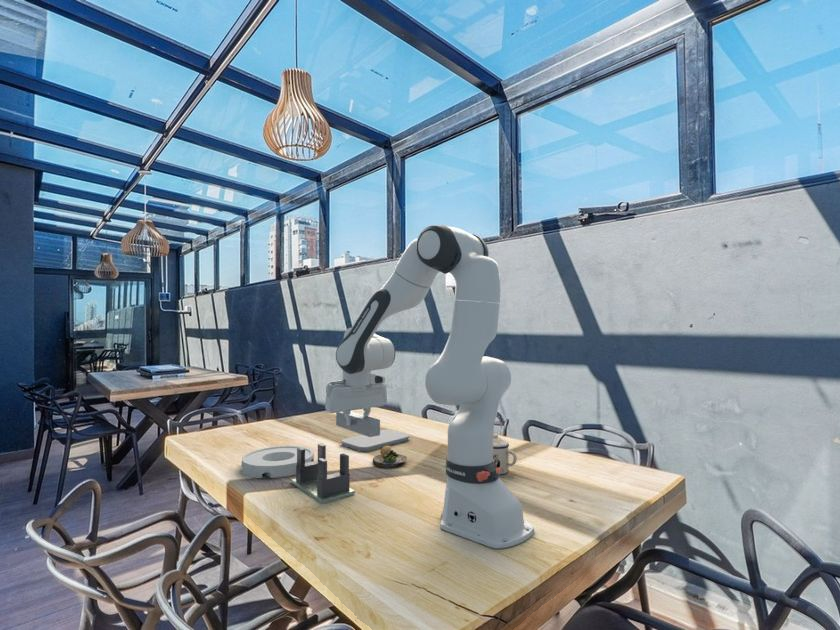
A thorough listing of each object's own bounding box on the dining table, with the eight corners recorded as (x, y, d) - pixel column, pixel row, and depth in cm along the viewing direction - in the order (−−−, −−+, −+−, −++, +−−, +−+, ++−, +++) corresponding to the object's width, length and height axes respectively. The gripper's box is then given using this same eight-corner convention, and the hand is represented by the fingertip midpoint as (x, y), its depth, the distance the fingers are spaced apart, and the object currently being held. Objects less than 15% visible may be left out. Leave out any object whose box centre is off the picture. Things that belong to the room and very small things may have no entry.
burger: (402, 470, 140) (402, 447, 140) (367, 467, 142) (368, 445, 143) (410, 459, 152) (410, 438, 152) (378, 457, 154) (378, 436, 154)
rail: (380, 435, 125) (380, 419, 125) (369, 437, 122) (369, 421, 123) (345, 423, 140) (345, 410, 140) (336, 425, 138) (336, 411, 138)
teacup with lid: (475, 471, 138) (475, 434, 138) (489, 464, 145) (489, 429, 146) (510, 479, 131) (509, 440, 131) (522, 471, 138) (522, 435, 138)
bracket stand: (354, 494, 119) (354, 456, 119) (321, 503, 112) (322, 463, 113) (321, 475, 134) (322, 441, 135) (291, 482, 128) (291, 447, 128)
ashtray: (293, 452, 160) (293, 442, 160) (326, 467, 143) (327, 455, 144) (230, 466, 144) (230, 454, 144) (259, 484, 127) (259, 471, 127)
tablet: (337, 445, 170) (337, 440, 170) (386, 434, 188) (386, 429, 189) (363, 454, 158) (363, 448, 159) (412, 440, 177) (412, 435, 177)
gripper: (331, 382, 123) (331, 430, 122) (389, 377, 136) (389, 421, 135) (321, 380, 128) (321, 427, 127) (378, 375, 141) (378, 417, 140)
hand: (357, 423), depth 131 cm, fingers closed on rail, 3 cm apart
